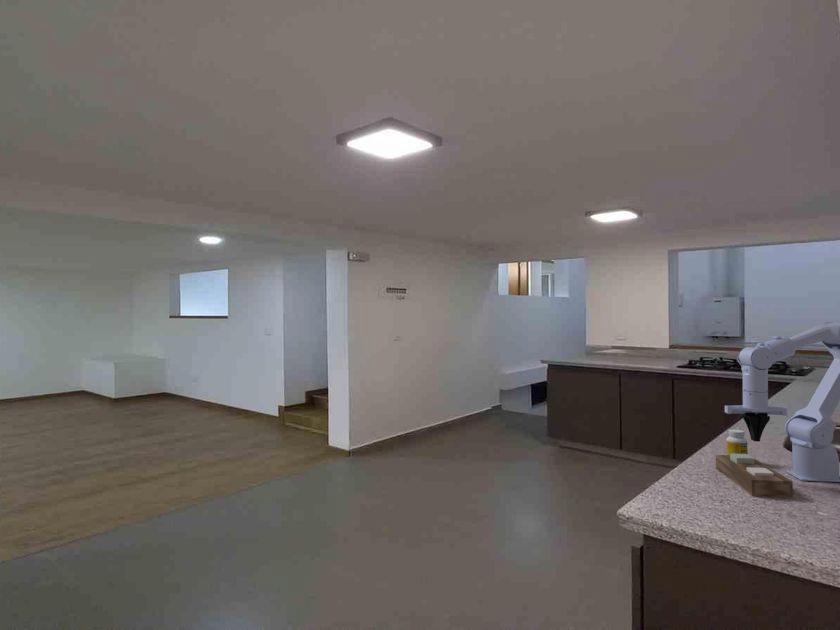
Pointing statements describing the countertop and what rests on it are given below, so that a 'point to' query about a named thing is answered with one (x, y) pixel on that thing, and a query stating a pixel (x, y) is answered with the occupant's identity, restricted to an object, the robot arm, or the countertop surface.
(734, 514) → the countertop surface
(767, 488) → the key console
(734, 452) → the supplement bottle
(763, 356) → the robot arm
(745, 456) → the sage key
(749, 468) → the off white key
